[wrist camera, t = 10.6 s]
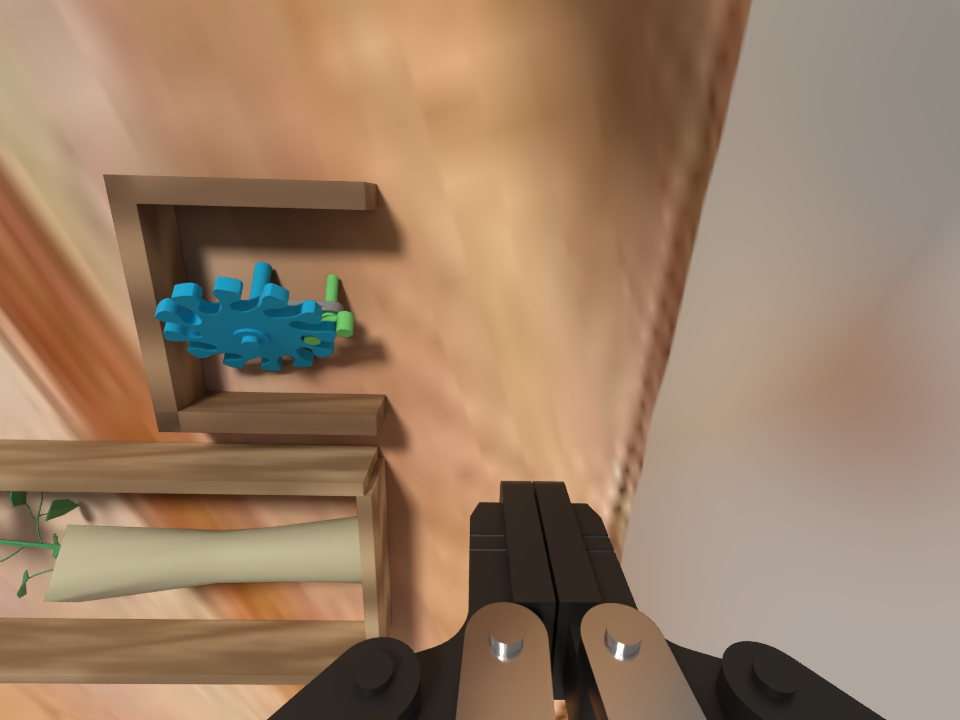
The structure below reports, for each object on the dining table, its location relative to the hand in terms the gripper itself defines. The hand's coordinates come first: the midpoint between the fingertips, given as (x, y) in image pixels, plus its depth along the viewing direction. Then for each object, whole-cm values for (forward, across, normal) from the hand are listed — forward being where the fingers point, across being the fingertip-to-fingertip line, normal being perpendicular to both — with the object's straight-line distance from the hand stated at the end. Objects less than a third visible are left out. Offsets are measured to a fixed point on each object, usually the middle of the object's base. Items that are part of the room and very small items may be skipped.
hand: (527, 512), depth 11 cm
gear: (+22, +14, +1) cm, 27 cm away
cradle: (+22, +14, 0) cm, 26 cm away
